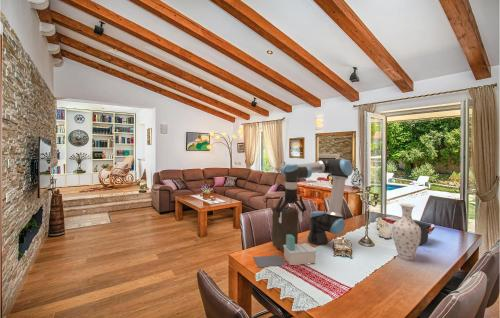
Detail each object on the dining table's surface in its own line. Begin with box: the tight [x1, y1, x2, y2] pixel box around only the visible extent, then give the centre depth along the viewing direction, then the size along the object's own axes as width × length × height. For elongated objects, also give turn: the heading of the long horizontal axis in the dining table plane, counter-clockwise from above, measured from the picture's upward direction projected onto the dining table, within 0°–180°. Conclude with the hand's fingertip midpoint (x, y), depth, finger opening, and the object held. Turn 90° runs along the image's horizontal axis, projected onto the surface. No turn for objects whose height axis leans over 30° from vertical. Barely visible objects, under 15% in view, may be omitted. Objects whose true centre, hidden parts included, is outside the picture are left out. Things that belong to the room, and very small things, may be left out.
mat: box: [252, 254, 286, 269], centre depth 152 cm, size 18×14×1 cm
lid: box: [283, 234, 317, 255], centre depth 154 cm, size 17×13×9 cm
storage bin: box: [413, 220, 433, 246], centre depth 186 cm, size 21×16×14 cm
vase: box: [391, 203, 421, 261], centre depth 159 cm, size 16×16×35 cm
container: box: [271, 205, 299, 254], centre depth 173 cm, size 23×10×30 cm, turn 22°
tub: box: [283, 248, 316, 266], centre depth 154 cm, size 16×12×7 cm
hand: (290, 222), depth 152 cm, fingers open, 13 cm apart
